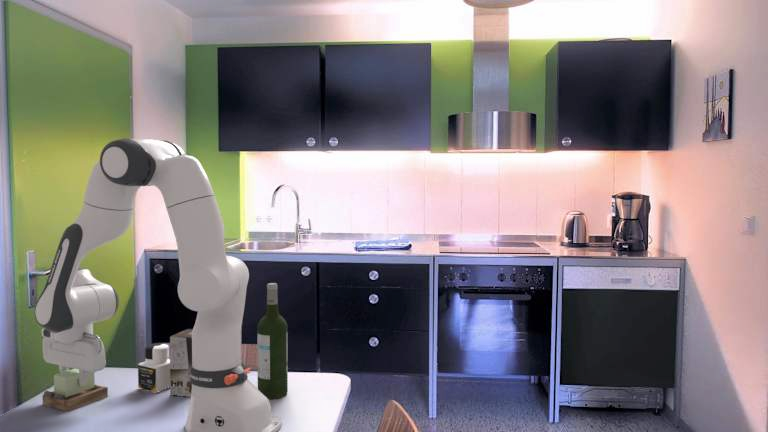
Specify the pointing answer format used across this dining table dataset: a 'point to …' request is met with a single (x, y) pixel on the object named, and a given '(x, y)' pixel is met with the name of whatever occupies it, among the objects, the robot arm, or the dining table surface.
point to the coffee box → (181, 363)
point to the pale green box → (71, 383)
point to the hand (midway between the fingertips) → (74, 383)
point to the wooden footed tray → (74, 398)
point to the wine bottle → (272, 349)
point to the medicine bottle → (155, 368)
